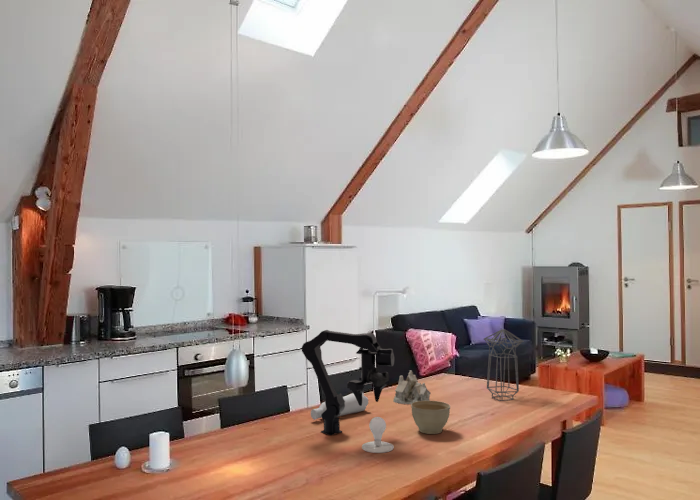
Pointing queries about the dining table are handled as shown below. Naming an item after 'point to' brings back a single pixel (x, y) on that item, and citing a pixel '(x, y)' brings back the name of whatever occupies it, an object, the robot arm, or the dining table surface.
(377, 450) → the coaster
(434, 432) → the planter bowl
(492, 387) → the geometric lantern
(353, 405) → the bottle
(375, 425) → the lightbulb
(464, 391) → the dining table surface
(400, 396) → the ceramic cottage
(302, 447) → the dining table surface
